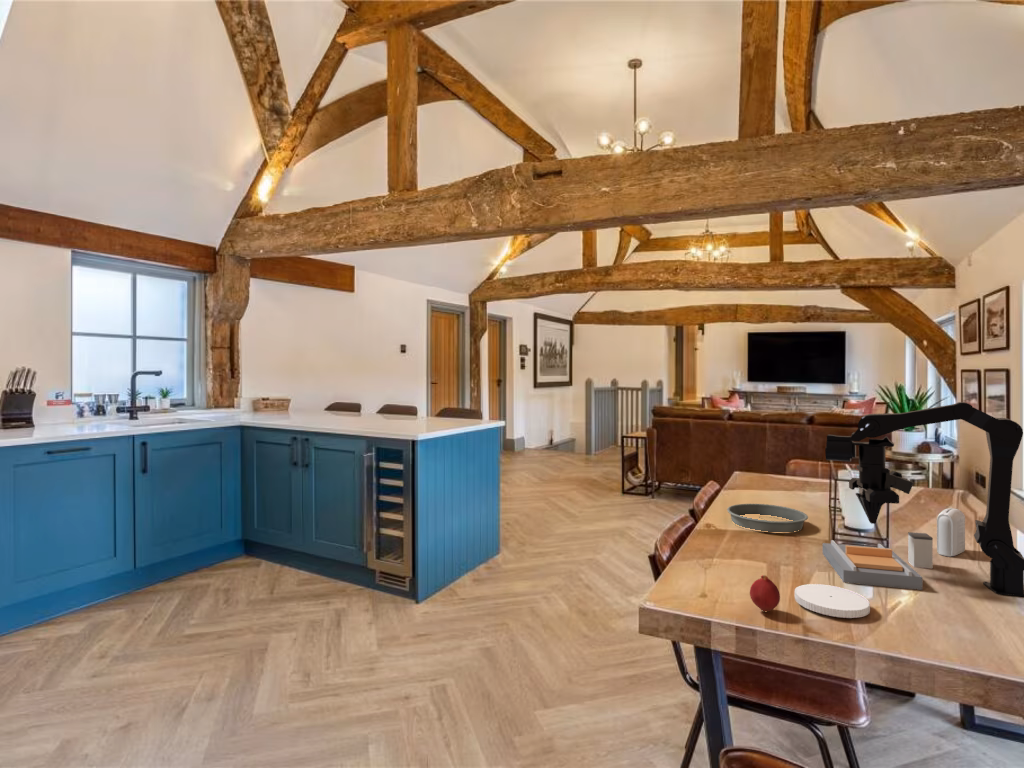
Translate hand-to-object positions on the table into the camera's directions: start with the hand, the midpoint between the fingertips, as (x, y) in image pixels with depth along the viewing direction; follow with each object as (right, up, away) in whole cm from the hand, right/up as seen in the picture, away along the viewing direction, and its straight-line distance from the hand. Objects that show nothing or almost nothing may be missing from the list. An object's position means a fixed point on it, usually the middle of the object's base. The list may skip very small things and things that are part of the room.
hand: (872, 523), depth 138 cm
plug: (+14, -12, +2) cm, 18 cm away
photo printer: (+30, -12, +12) cm, 34 cm away
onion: (-39, -13, -24) cm, 48 cm away
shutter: (-3, -9, -5) cm, 11 cm away
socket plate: (-2, -12, -1) cm, 12 cm away
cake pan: (-7, -12, +42) cm, 44 cm away
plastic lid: (-24, -13, -22) cm, 35 cm away
